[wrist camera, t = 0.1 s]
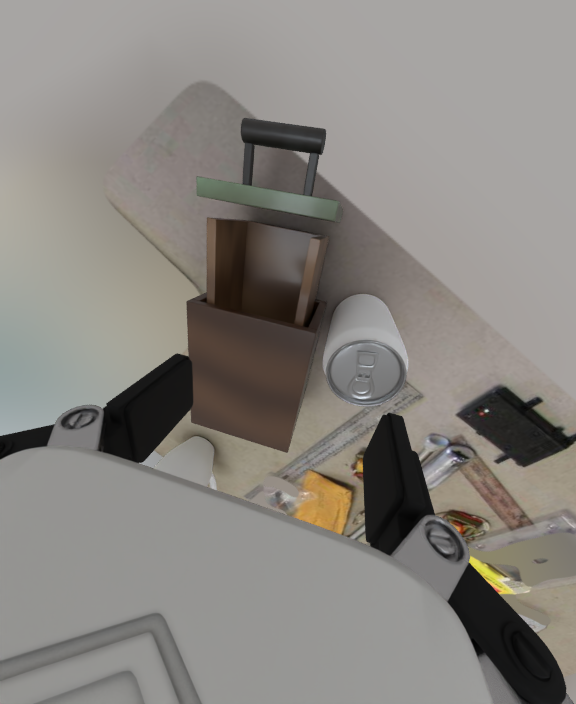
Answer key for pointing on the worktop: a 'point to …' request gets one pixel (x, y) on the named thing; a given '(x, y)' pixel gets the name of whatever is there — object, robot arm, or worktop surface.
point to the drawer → (268, 234)
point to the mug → (191, 462)
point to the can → (364, 352)
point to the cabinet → (249, 371)
